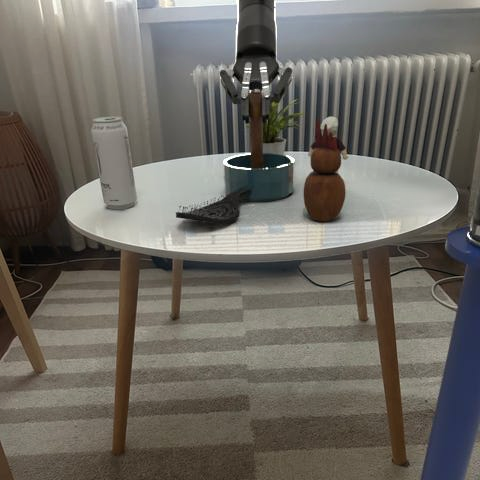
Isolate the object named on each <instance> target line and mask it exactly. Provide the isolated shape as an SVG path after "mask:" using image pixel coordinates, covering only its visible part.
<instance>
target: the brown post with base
mask: <svg viewBox="0 0 480 480" xmlns="http://www.w3.org/2000/svg"><path fill="white" fill-rule="evenodd" d="M262 98H263V97H262V91H253V92H252V91H251V93H249V124H248V125H249V126H250V128H249V130H250V131H249V152H250V153H249V154H250V158H251V169H260V168H263V123H262Z"/></svg>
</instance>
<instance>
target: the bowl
mask: <svg viewBox="0 0 480 480" xmlns="http://www.w3.org/2000/svg"><path fill="white" fill-rule="evenodd" d="M222 163H223V164H222V165H223V185H224V187H223V188H224V192H225V194H227V195H228V194H230V193H231V192H233V191H235V190H237V189H239V188H242V189H251V194H249V195H247V196H244V197H242V198H240V200H239V201H243V202H253V203H254V202H255V203H256V202H258V203H259V202H260V203H263V202H271V201H272V202H273V201H277V200H281V199H284V198H287V197H288V196H289V195H290V194H292V193H293V192H294V189H295V159H294V158H293V157H292V156H289V155H286V154H284V155H281V154H272V153H263V168H260V169H251V158H250V153H244V154H238V155H233V156H230V157H228V158H225V159H224V160H223V162H222Z"/></svg>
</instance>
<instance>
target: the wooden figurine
mask: <svg viewBox="0 0 480 480" xmlns="http://www.w3.org/2000/svg"><path fill="white" fill-rule="evenodd" d="M315 127H316V128H315V141H314V142H315V149H314V150H313V152H312V154H311V157H310V168H311V169H312V171H310V172H309V174H308V175H307V176H306V177H305V180H304V183H303V192H302V193H303V194H302V195H303V203H304V206H305V210H306V212H307V215H308V216H309V218H310V219H311V220H314V221H317V222H332V221H335V219H337V218H338V216H339V215H340V213H341V211H342V209H343V207H344V204H345V200H346V185H345V184H346V183H345V181H344V179H343V177H342V176H341V175H340V174H339V170H340V168H341V166H342V154H341V152H340V151H339V150H338V149H337V141H336V138H337V137H336V138H333V140H332V137H333V136H332V132H330V133H329V136H328V131H327V124H325V126H324V131H322V130H321V123H320V120H319V119H317V120H316V126H315ZM337 171H338V173H336V172H337Z"/></svg>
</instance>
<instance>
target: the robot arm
mask: <svg viewBox="0 0 480 480" xmlns="http://www.w3.org/2000/svg"><path fill="white" fill-rule="evenodd" d="M236 3H237V24H236V30H235V62H234V64H233V65H232V69H230V70H228V71H227V70H225V69H220V71H219V77H220V78H219V79H220V83H221V85H222V87H223V89H224V92H225V93H226V94H227V96H228V98H229V100H230V101H231V103H232V105H238V104H239V105H240V117H241V120H242V122H243V121H244V123H245V124H247V125H249V93H251V92H252V91H253V90H254V91H255V90H260V91H261V93H262V123H266V120H269V118H270V104H271V103H273V102H275V103H279V102H280V103H281V101H282V99H283V98H284V97H283V95H284V94H285V93H286V92H287V89H288V88H289V86H290V84H291V83H292V80H293V68H292V67H286V68H282V67H280V63H279V62H278V59H277V58H278V55H277V54H278V53H277V51H278V49H277V48H278V44H277V43H278V35H277V33H278V32H277V30H278V29H277V23H276V22H277V21H276V0H236ZM277 77H278V82H277V83H276V85H275V87H274V89H273V90H271V89H270V85H271V84H272V83H273V82H274V80H275V79H277ZM234 78H235V79H236V80H237V81H238V82H239V84H240V85H241V86H242V87H241V92H239V91H238V89H237V88H236V85H235V84H234ZM282 97H283V98H282ZM281 98H282V99H281ZM280 100H281V101H280ZM280 103H279V104H280ZM472 210H473V211H472V215H471V221H470V223H469V226H470V227H469V232H468V235H467V241H468V242H469V243H470V244H471V245H473V246H475V247H477V248H479V249H480V180H479V181H478V186H477V192H476V195H475V201H474V205H473V209H472Z"/></svg>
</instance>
